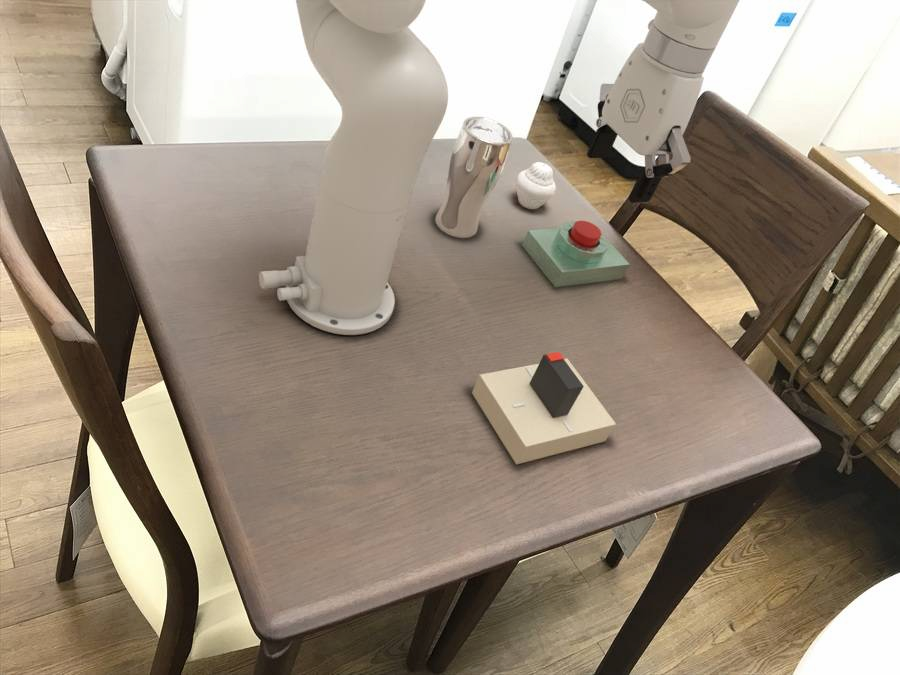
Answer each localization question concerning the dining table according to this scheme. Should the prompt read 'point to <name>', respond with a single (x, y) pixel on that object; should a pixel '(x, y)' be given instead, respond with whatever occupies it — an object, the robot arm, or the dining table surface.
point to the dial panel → (538, 416)
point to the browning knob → (556, 384)
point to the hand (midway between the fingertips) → (616, 178)
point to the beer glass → (472, 174)
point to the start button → (585, 234)
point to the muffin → (535, 185)
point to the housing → (573, 257)
